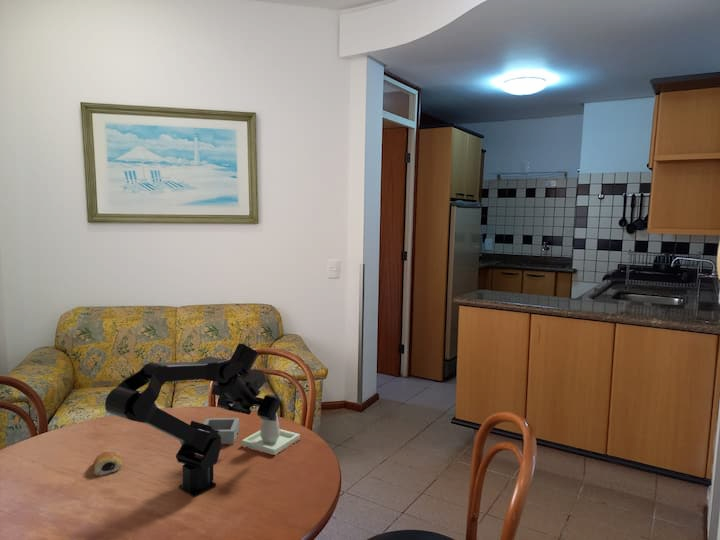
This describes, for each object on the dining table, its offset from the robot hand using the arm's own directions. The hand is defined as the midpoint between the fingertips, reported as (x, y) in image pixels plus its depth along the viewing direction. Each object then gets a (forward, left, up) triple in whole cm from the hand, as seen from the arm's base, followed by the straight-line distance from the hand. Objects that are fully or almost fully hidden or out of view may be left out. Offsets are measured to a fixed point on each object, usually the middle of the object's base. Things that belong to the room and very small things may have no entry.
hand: (262, 416), depth 139 cm
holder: (-3, +16, -10) cm, 19 cm away
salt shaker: (+4, +1, -9) cm, 10 cm away
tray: (+4, +1, -10) cm, 10 cm away
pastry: (-33, +23, -10) cm, 41 cm away
